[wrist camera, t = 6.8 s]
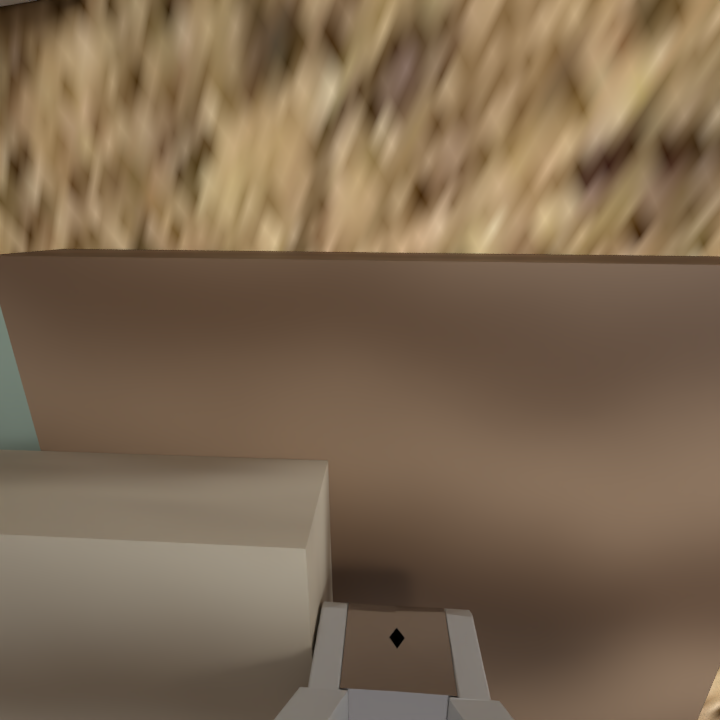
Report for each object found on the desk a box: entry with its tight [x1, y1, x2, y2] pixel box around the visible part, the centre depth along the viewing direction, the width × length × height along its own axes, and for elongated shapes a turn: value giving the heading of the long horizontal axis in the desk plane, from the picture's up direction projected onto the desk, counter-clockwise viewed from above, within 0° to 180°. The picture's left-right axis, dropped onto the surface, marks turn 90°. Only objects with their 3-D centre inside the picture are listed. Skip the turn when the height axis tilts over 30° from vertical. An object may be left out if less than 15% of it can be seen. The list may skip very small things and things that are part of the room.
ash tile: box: [0, 450, 333, 720], centre depth 9 cm, size 6×8×2 cm
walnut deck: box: [0, 249, 720, 720], centre depth 11 cm, size 14×16×2 cm
